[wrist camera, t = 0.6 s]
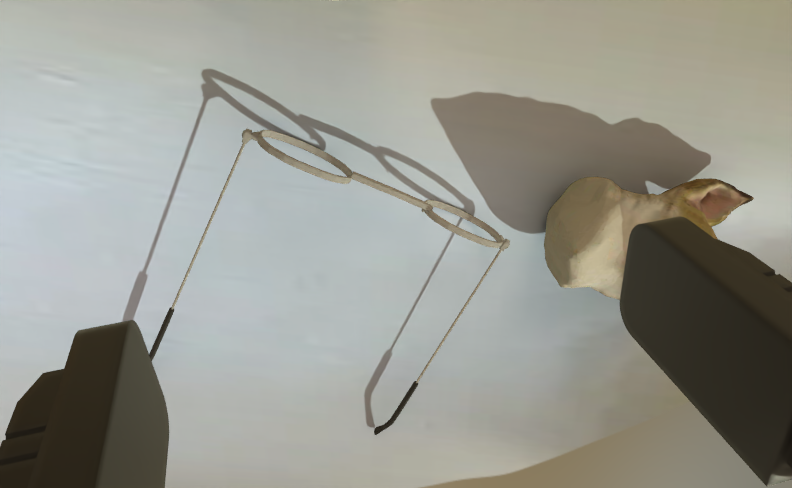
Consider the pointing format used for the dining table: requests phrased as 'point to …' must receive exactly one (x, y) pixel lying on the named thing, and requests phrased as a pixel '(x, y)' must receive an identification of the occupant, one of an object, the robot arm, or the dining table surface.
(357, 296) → the dining table surface
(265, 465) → the dining table surface
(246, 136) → the eyeglasses
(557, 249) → the ceramic sculpture
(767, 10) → the dining table surface
